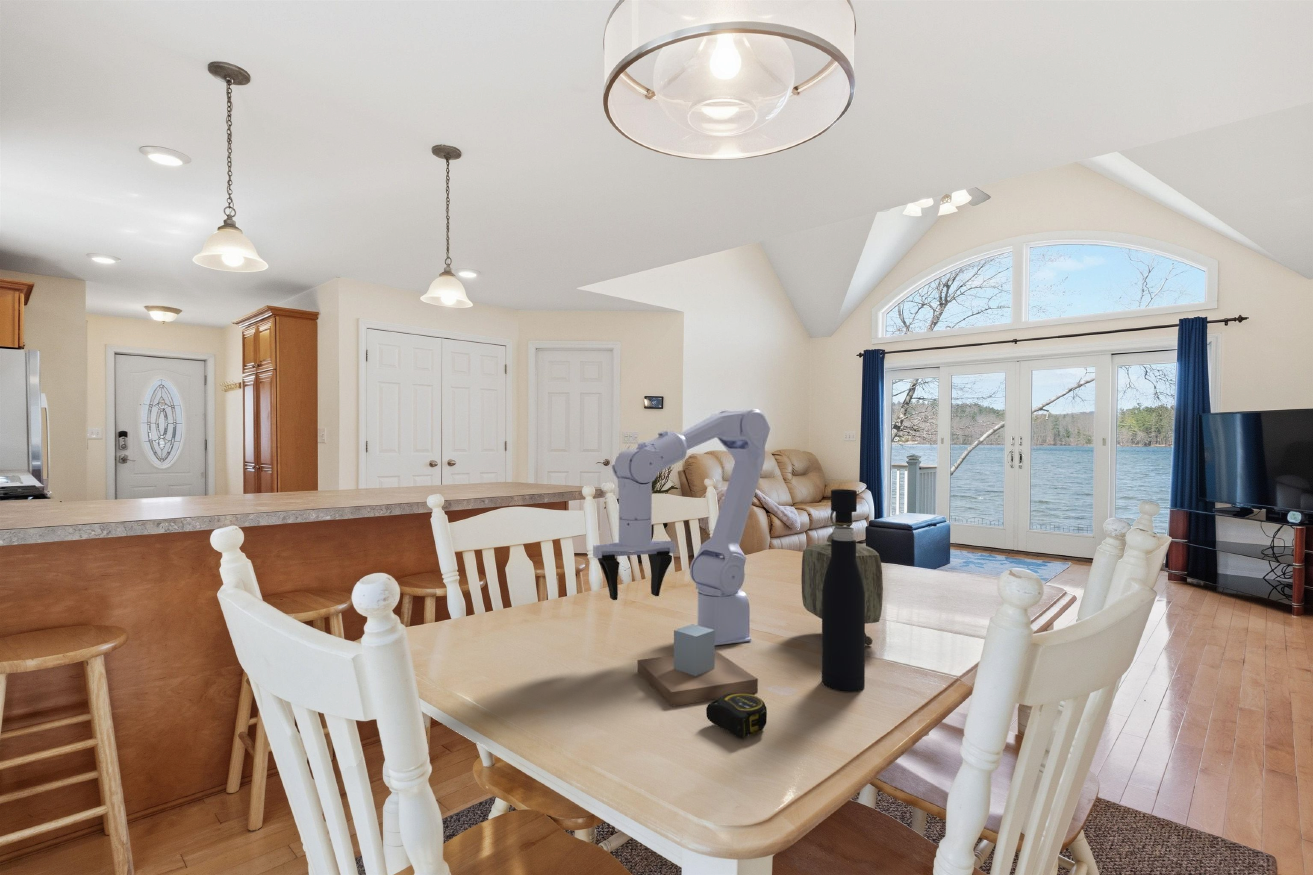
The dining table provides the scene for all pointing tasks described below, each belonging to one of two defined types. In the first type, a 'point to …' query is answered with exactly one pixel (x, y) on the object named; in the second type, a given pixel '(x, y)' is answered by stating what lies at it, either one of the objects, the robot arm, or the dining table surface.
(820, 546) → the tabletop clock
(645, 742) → the dining table surface
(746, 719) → the tape measure
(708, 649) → the slate block
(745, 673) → the walnut base
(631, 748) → the dining table surface
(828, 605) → the wine bottle
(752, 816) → the dining table surface
